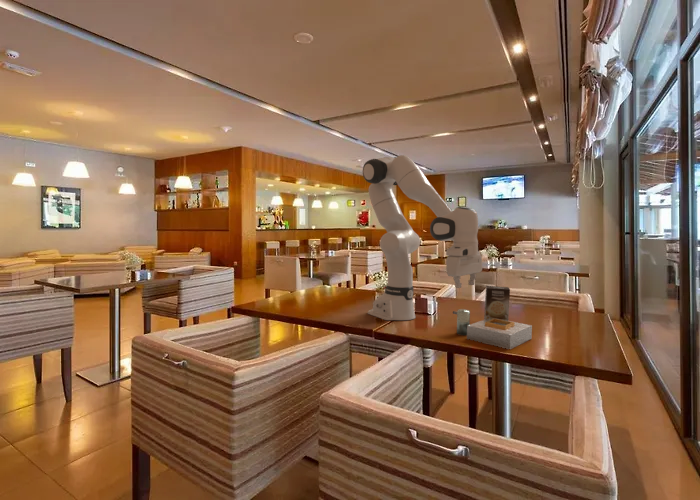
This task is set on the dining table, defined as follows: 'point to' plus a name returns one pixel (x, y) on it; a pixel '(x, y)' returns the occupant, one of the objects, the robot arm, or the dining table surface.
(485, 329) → the grey rectangular block
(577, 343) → the dining table surface
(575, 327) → the dining table surface
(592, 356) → the dining table surface
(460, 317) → the spout can
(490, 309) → the coffee box
